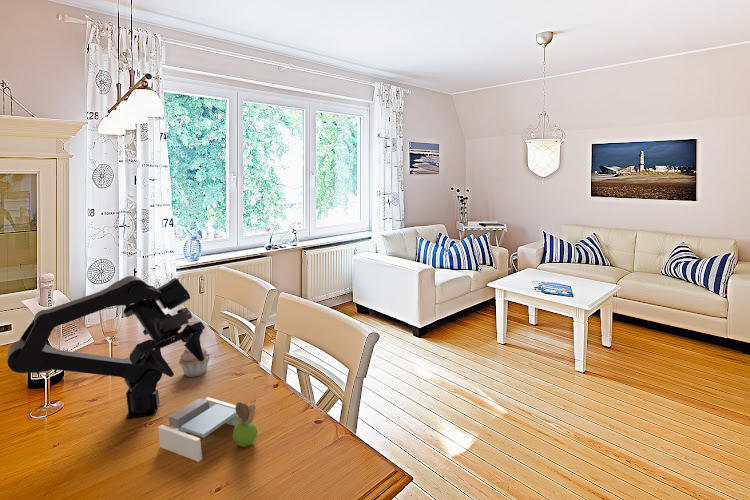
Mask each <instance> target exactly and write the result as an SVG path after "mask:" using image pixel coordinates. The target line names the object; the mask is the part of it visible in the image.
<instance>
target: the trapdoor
mask: <svg viewBox="0 0 750 500" xmlns="http://www.w3.org/2000/svg"><path fill="white" fill-rule="evenodd" d="M236 415H237V413H236V409H232V408H229V407H226V406H222V405H219V404H215V405H214V406H212V407H211V408H209V401H208V400H205V398H201V397H198V398H197V399H195V400H194V401H192V402H190V403H189V404H187V405H186V406H183V407H182V408H180V409H179V410H177V411H175V412H174V413H172V414H170V415H169V416H168V422H169V424H168V426H169V427H171V428H173V429H176V428H177V429H180V428H181V430H183V431H186V433H190V434H191V435H195V436H198V437H199V438H200V437H201V438H205V437H207V436H209V435H210V434H212V433H213V432H214V431H216V430H217V429H219V428H220V427H221V426H223V425H224V424H227V423H226V422H227V421H228V420H230V419H231V418H233V417H234V416H236Z"/></svg>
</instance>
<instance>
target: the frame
mask: <svg viewBox="0 0 750 500" xmlns="http://www.w3.org/2000/svg"><path fill="white" fill-rule="evenodd" d="M204 400H208V401H209V408H211V407H212V406H214V405H215V404H219V405H222V406H226V407H229V408H232V409H235V407H236V404H233V403H229V402H226V401H222V400H219V399H217V398H216V399H215V398H212V397H208V396H207V397H206V398H204ZM238 423H240V422H239V421H238V420H237V418H236V416H234V417H233V418H231V419H230V420H228V421H227V422H226V423H225V424H227V425H230V426H233V427H236V425H237V424H238ZM157 429H158V438H159V447H160V448H162V449H164V450H167V451H170V452H172V453H175V454H177V455H180V456H182V457H185V458H188V459H190V460H192V461H195V462H197V463H198V462H201V461H202V460H203V453H202V443H201V438H200V437H199V436H198V437H197V436H196V435H195V436H194V435H193V434H188V433H187V432H186V431H183V430H181V428H180V429H177V428H173V427H170V426H166V425H163V424H161V425H159V426H158V427H157Z"/></svg>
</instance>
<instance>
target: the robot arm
mask: <svg viewBox="0 0 750 500" xmlns="http://www.w3.org/2000/svg"><path fill="white" fill-rule="evenodd" d="M190 299H191V296H190V294H189V292H188V290H187V289H186V288H185V287H184V285H183V284H182V283H181V282H180V280H179V279H178V278H177V277H174V278H172V279H171V280H169V281H168V282H166V283H164V284H163V285H160V286H159V287H157V288H156V287H155V286H153V285H149V284H147V283H146V282H145V281H144V280H142V279H141V278H140V277H137V276H135V275H129V276H125V277H123V278H122V279H119V280H117V281H116V282H114V283H112V284H111V285H109V286H107V287H106V288H104V289H103V290H101V291H97V292H95V293H92V294H88V295H86V296H83V297H80V298H77V299H74V300H71V301H68V302H66V303H62V304H60V305H59V304H58V305H56V306H54V307H51V308H48V309H47V308H46V309H41V310H39V311H37V313H36V314H35V315H34V317H33V319H32V321H31V322H30V323H29V325H28V326H27V328H26V329H25V331H23V334H22V335H21V337H20V338H19V340H17V341H15V342H13V343H12V344H11V345H10V346H9V347H8V349H7V357H6V360H7V362H6V363H7V366H8V368H9V369H10V370H11V371H12V372H14V373H17V374H35V373H39V374H40V373H43V372H49V371H55V370H56V371H65V372H73V373H82V374H90V375H99V376H107V377H118V378H122V379H124V380H123V381H124V382H125V384H126V386H127V388H128V389H127V391H126V393H125V395H126V404H127V405H126V406H127V412H128V413H127V414H126V416H125V418H126V419H134V418H141V417H148V416H149V417H150V416H154V415H155V414H156V411H157V409H158V408H159V407H160V395H159V390H158V389H157V385H158V383H159V381H161V379H162V377H163V374H164V375H165V376H167V377H170V378H173V377H174V375H175V374H174V371H173V370H172V367H170V365H169V363H167V361H166V360H165V358H164V357H163V355H162V351H161V349H163V348H166V347H168V346H170V345H172V344H175V343H177V342H179V341H181V342H183V343H185V344H184V347H185V348H187V349H188V350H189V351H190V352H191V353H192V354H193V355H194V356H195V357H196V358H197V359H198V360H199V361H201V362H202V361H203V360H204V357H203V353H202V349H201V346H202V345H201V335H202V334H203V332H204V330H205V329H206V326H205V325H204V323H203V322H202V321H200V320H196V321H193V322H191V323H190V321H189V320H191V319H192V317H193V316H192V313H191V311H190V310H189V309H188V307H183V308H180V309H179V310H177V311H176V312H177V313H176V314H173V315H172V314H170V313H165V312H164V311H163V310H162V308H163V309H164V310H165V309H168V310H170V311H172V310H174V309H175V308H177V307H179V306H181V305H182V304H184V303H186V302H187V301H189V300H190ZM157 302H158V303H159V304H158V303H157ZM119 306H125V308H124V310H123V315H124V316H125V318H130V317H131V316H133V315H134V316H135V317H136V319H137V320H138V321H139V323H140V324H141V326H142V327H143V329H144V330H143V331H142V333H143V334H144V336H147V335H148V336H149V338H150V339H147V340H145V341H142V342H140V343H139V342H138V344H136V345H135V346H134V348H133V349H132V351H131V352H130V353H129V357H128V358H119V357H112V356H105V355H99V354H90V353H83V352H77V351H68V350H61V349H58V348H56V347H54V346H51V345H49V344H47V342H48V340H49V337H50V335H51V333H52V332H53V330H54V328H56V327H59V326H61V325H64V324H66V323H70V322H72V321H75V320H78V319H81V318H83V317H87V316H88V315H91V314H94V313H97V312H100V311H102V310H103V311H104V310H106V309H108V308H112V307H119ZM160 306H161V307H162V308H161V307H160ZM183 325H185V327H184V328H183V327H182V326H183ZM182 328H183V329H182ZM181 329H182V331H180V330H181Z"/></svg>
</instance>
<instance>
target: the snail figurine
mask: <svg viewBox="0 0 750 500" xmlns="http://www.w3.org/2000/svg"><path fill="white" fill-rule="evenodd" d="M250 402H251V404H249V405H248V404H247V403H246V402H244V401H238V402H237V403H236V404H235V405H236V407H235V409H236V413H237V415H236V418H237V420H238V421H239V422H240V423H238V424H237V425H236V426H234V428H233V431H232V439H233V442H234V444H235V445H237V446H239V447H244V448H245V447H249V446H250V445H252V444H253V443H254V442H255V441H256V439H257V436H258V428H257V426H256V424H254V422H253V421H254V419H255V416H256V404H255V403H256V402H257V400H256V399H253V400H251V401H250Z"/></svg>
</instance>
